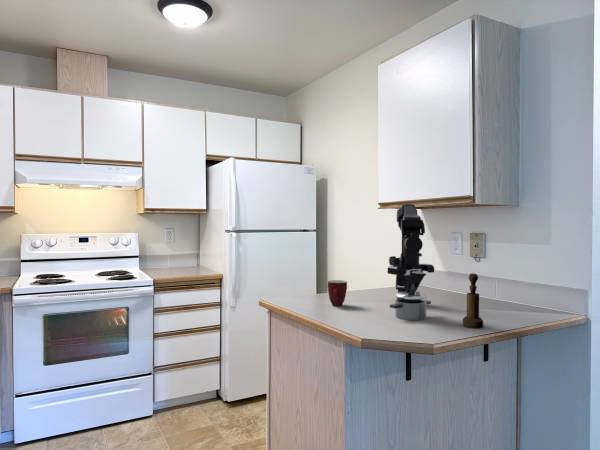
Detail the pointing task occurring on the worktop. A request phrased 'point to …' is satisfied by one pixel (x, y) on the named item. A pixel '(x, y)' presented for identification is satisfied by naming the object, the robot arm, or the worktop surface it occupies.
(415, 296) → the lid
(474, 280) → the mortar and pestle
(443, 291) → the worktop surface
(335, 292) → the mug
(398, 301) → the pot
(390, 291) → the worktop surface
